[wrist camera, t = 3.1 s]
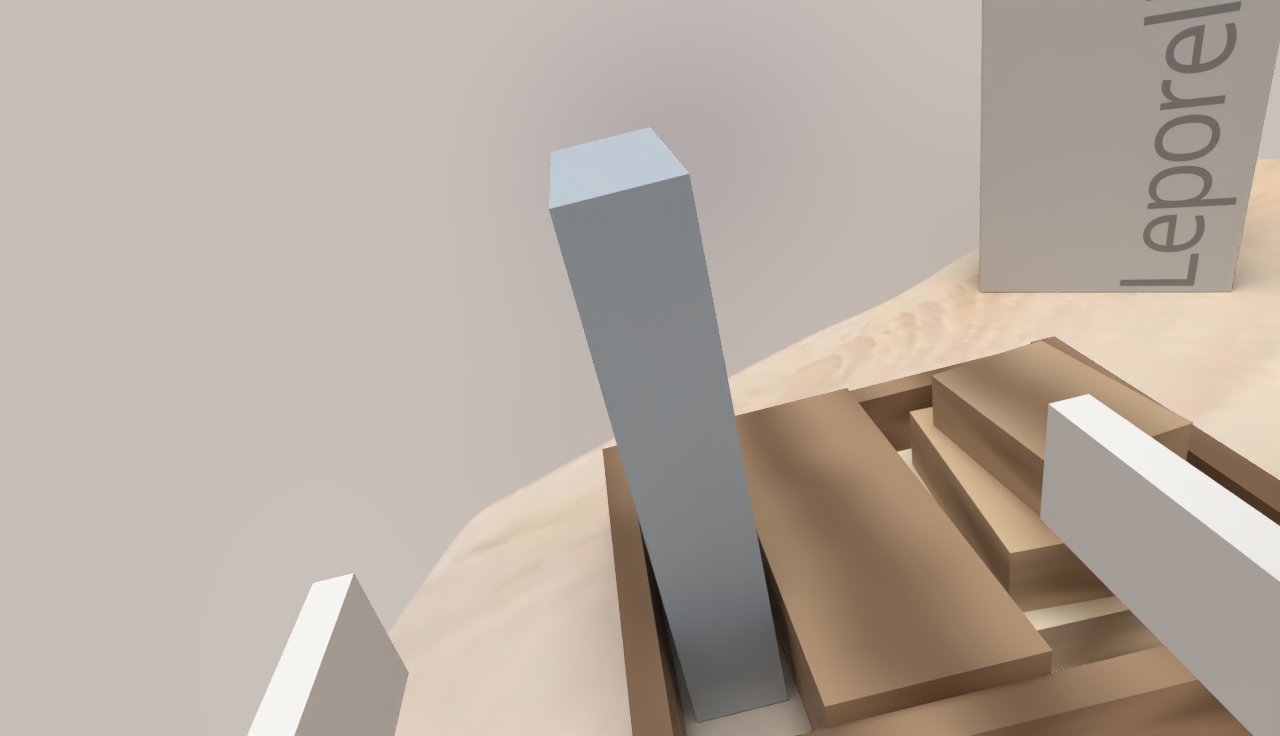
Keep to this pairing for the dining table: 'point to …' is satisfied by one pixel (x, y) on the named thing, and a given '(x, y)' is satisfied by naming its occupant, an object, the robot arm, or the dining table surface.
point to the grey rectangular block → (670, 407)
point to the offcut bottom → (1084, 625)
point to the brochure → (1120, 141)
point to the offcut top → (1033, 411)
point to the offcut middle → (1000, 525)
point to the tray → (903, 591)
